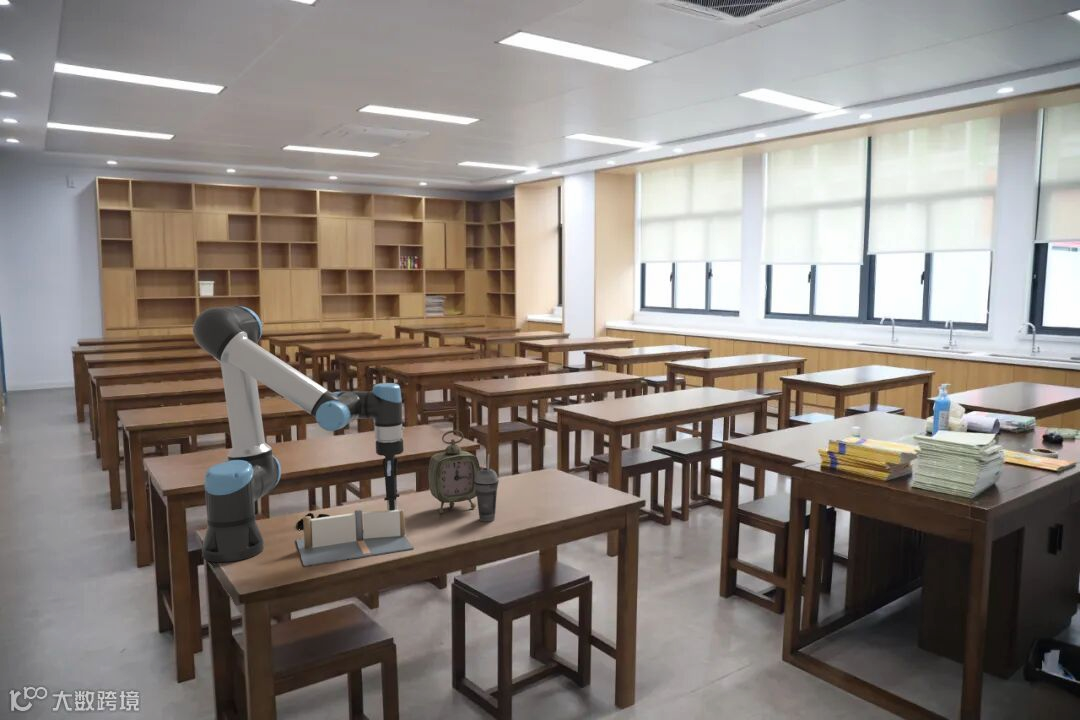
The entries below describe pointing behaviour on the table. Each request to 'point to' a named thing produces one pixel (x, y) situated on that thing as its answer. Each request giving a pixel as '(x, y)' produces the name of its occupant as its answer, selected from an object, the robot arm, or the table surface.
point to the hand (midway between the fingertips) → (392, 521)
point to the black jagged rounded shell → (300, 523)
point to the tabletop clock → (453, 474)
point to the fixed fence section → (333, 529)
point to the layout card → (352, 549)
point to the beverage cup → (486, 492)
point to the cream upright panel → (384, 523)
